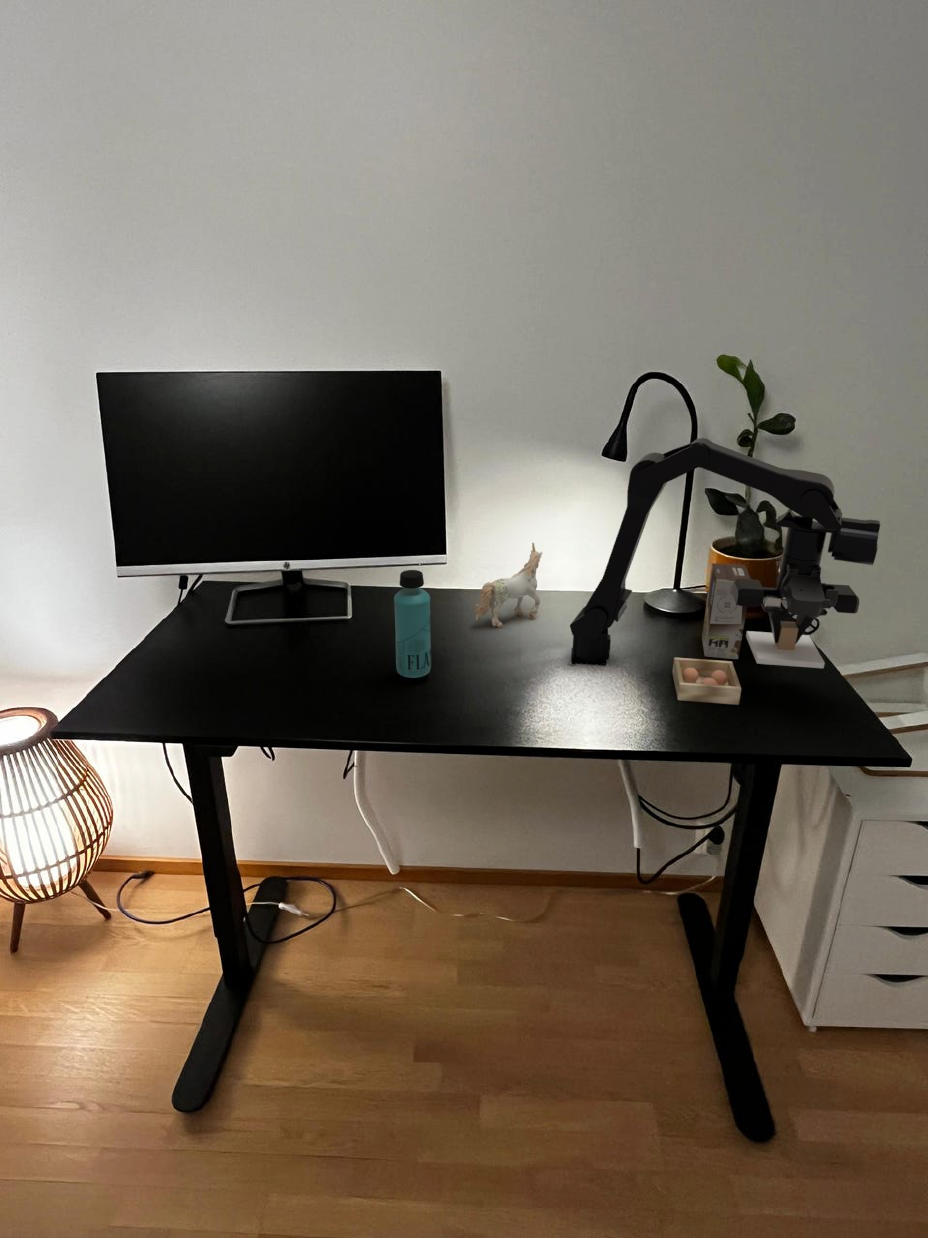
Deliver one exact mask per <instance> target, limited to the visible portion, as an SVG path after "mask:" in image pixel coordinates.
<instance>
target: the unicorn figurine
mask: <svg viewBox="0 0 928 1238" xmlns="http://www.w3.org/2000/svg"><path fill="white" fill-rule="evenodd" d="M531 544H532V546H531V547H532V549H531V550H530V554H529V559H528V561H527V562H526V563H525V564H524V565H523V568H522V569H520V571H518V572H517V573H515V574H514V575H512V576H511V577H509V578H508V577H507V578H505V577H503V578H502V577H501V578H497V579H495V580H494V581H492V582H491V581H490V582H489V581H488V582H486V583H484V584H483V585H482V587H481V592H480V594H479V598H478V599H479V602H478V604H476V607H477V608H476V609H475V611H474V612H475V613H476V614H475V621H478V620H479V619H480V618H481V617H484V616H485V615H486V613H487V612H488V609H489V608H491V610H490V613H491V614H492V618H491V624H492V626H493V627H497V628H499V629H501V628H503V626H504V624H503V623H502V622H501V621H500V620H499V611H500V609H501V608H502V607H503V606H504V603H506V601H507V600H508V599H517V604H516V606H515V608H514V609H513V610H514V611H513V613H514V614H513V615H514V616H517V615H518V616H520V617H521V616H523V615H524V612H523V610H522V609H521V604H522V601H523V600H524V599H523V598H524V597H525V596H529V597H530V598H531V599H533V600H534V605H533V606H532V607H531V608H530V609H529V613H528V617H529V619H530V620H534V619H535V617H536V615H537V613H538V611H539V606H540V603H541V598H540V596H539V595H538V594H537V591H536V590H537V588H538V581H537V578H536V577H537V575H536V574H537V569H538V568H539V565H540V564H539V563H540V561H541V558H542V554H543V551H541V552H539V551H536V547H535V542H532V543H531ZM495 602H496V603H495Z"/></svg>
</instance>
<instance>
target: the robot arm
mask: <svg viewBox="0 0 928 1238" xmlns="http://www.w3.org/2000/svg"><path fill="white" fill-rule="evenodd" d="M698 468H701V469H703V470H706V471H709V472H711V473H713V474H715V475H719V476H722V477H724V478H726V479H729V480H731V481H734V482H737V483H739V484H742V485H745V486H747V487H750V488H751V489H752V488H753V489H755V490H758V491H760V492H763V493H766V494H767V495H769V496H771V497H773V498H774V499H775V500H777V501H778V502H780V504H781V505H783V506H784V507H785V508H787V511H786V512H785V513H783V514H780V515H779V516H777V519H776V522H775V526H776V527H780V528H787V531H786V536H785V541H784V546H783V551H782V553H781V556H780V561H781V563H780V567H779V573H778V576H777V578H776V582H775V583H776V587H770V586H769V587H766V586H763V585H762V584H761V581H760V580H759V579H754V578H753V579H752V578H751V579H737V580H736V581H735V582H734V583H733V588H732V595H733V597H734V600H735V602H736V604H737V605H739V606H746V607H747V608H749V607H750V608H758V607H760V606H761V608H762V610H763V611H764V612H766V613H768V616H769V621H770V626H771V633H773V637H774V641H775V643H778V640H779V635H780V624H781V621H782V616H783V614H784V609H783V607H782V606H781V604H782V601H786V605H787V611H788V612H789V614H791V615H792V616H793V615H794V616H796V619H795V621H794V622H795V623H796V625H797V627H798V634H797V638H796V643H795V644H797V642H798V641H799V639H800V638H801V636H802V635H804V633H805V632H806V630H807V629H808V628H809V626H810V625H811V624H812V622H813V621H815V619H817V618H819V617H821V616H826V615H827V614H828V611H827V610H826V609H831V608H833V609H834V610H835V611H836V612H837V613H842V614H856V613H858V611H859V607H860V598H859V596H858V595H857V594H856V592H855V591H854V590H853V589H852V587H851V586H850V585H849V584H835V583H834V584H833V583H832V584H831V583H825V582H822V581H821V580H822V579H821V574H822V567H821V566H820V565H821V561H822V556H823V552H824V546H825V541H826V537H827V533H830V536H829V542H828V546H827V553H829V554H831V556H830V557H831V558H833V561H839V562H846V563H853V564H861V565H866V566H867V565H868V566H873V565H874V562H875V559H876V558H877V557H876V556H877V553H878V539H879V533H880V527H881V521H880V520H879V519H878V520H877V519H857V518H852V517H851V518H850V517H843V512H842V510H841V508H840V507H839V505H838V504H837V502H836V499H835V486H834V484H833V482H832V480H831V479H830V478H829V476H826V475H824V474H821V473H817V472H813V471H808V470H807V471H806V470H801V469H792V468H790V469H788V468H787V469H786V468H783V467H779V466H775V465H773V464H771V463H768V462H766V461H763V460H760V459H757V458H754V457H751V456H748V455H747V454H743V453H741V452H738V451H736V450H733V449H730V448H728V447H726V446H723V445H720V444H717V443H714V442H713V441H711V440H710V439H709V438H704V437H700V438H696V439H694V441H691V442H690V443H688V444H684V445H682V446H679V447H676V448H673V449H671V450H668V451H667V452H664V453H660V452H650V453H648V454H646V455H644V456H643V457H642V458H641V459H640V460H639V461H638V462H636V463H635V465H633V466H632V468H631V470H630V473H629V477H628V484H627V492H626V493H627V494H626V498H627V499H626V500H627V501H626V508H625V512H624V514H623V516H622V521H621V524H620V527H619V529H618V532H617V535H616V538H615V541H614V544H613V546H612V549H611V552H610V555H609V558H608V561H607V564H606V567H605V569H604V573H603V576H602V578H601V579H600V581H599V583H598V585H597V586H596V588H595V590H594V591H593V593H592V595H591V596H590V598H589V600H588V602H587V603H586V605H585V606H583V608H582V609H581V610H580V612H578V614H577V615H576V617H575V618H574V619H573V621H571V623H570V625H569V628H570V631H571V635H572V646H571V650H570V653H571V655H570V664H571V665H572V666H575V665H589V666H607V663H608V662H607V661H609V660H610V652H611V643H612V638H611V637H612V636H611V634H610V633H609V628H611V627H612V626H613V624H614V623H615V622H619V621H620V619H621V618H622V617H623V614H624V613H625V612H626V609H627V608H628V607H627V603H628V599H629V597H630V595H632V593H633V590H632V589H628V588H626V582H627V581H626V580H627V576H628V574H629V571H630V568H631V565H632V563H633V560H634V557H635V554H636V551H637V549H638V545H639V543H640V540H641V538H642V535H643V533H644V529H645V527H646V524H647V521H648V518H649V516H650V513H651V510H652V509H653V506H654V505H655V503H656V502H657V500H658V499H659V497H660V496H661V494H662V492H663V491H664V489H665V487H666V486H667V483H668V482H670V481H673V480H675V479H677V478H679V477H681V476H683V475H685V474H686V473H690V471H693V470H695V469H698ZM814 520H815V521H814Z"/></svg>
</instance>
